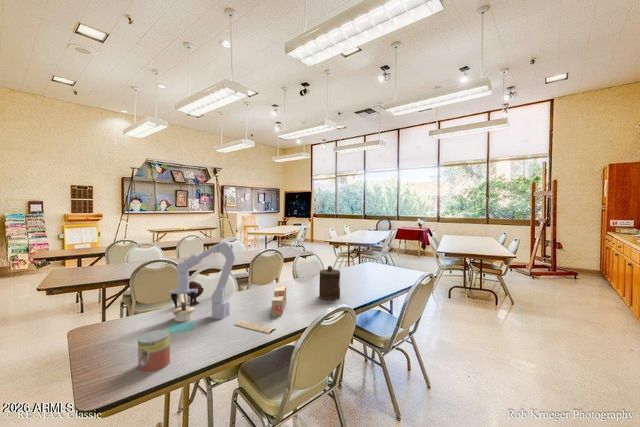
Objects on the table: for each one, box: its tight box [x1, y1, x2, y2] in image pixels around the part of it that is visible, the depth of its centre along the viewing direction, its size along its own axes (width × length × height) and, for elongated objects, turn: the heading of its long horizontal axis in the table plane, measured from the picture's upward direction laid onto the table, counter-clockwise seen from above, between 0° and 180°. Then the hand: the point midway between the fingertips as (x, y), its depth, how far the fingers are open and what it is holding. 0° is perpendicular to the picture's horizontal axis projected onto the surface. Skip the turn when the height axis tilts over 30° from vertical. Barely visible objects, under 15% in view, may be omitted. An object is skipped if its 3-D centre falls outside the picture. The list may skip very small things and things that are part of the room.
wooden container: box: [318, 265, 341, 301], centre depth 203 cm, size 15×15×22 cm
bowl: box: [174, 311, 194, 323], centre depth 162 cm, size 9×9×4 cm
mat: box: [166, 321, 195, 334], centre depth 150 cm, size 12×12×1 cm
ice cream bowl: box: [186, 281, 205, 306], centre depth 188 cm, size 11×11×15 cm
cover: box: [172, 301, 195, 316], centre depth 162 cm, size 11×11×5 cm
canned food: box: [137, 329, 171, 374], centre depth 116 cm, size 11×11×12 cm
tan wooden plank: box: [233, 320, 276, 335], centre depth 152 cm, size 24×7×2 cm, turn 63°
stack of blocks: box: [271, 285, 287, 317], centre depth 178 cm, size 21×6×12 cm, turn 0°
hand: (183, 306), depth 162 cm, fingers open, 7 cm apart
